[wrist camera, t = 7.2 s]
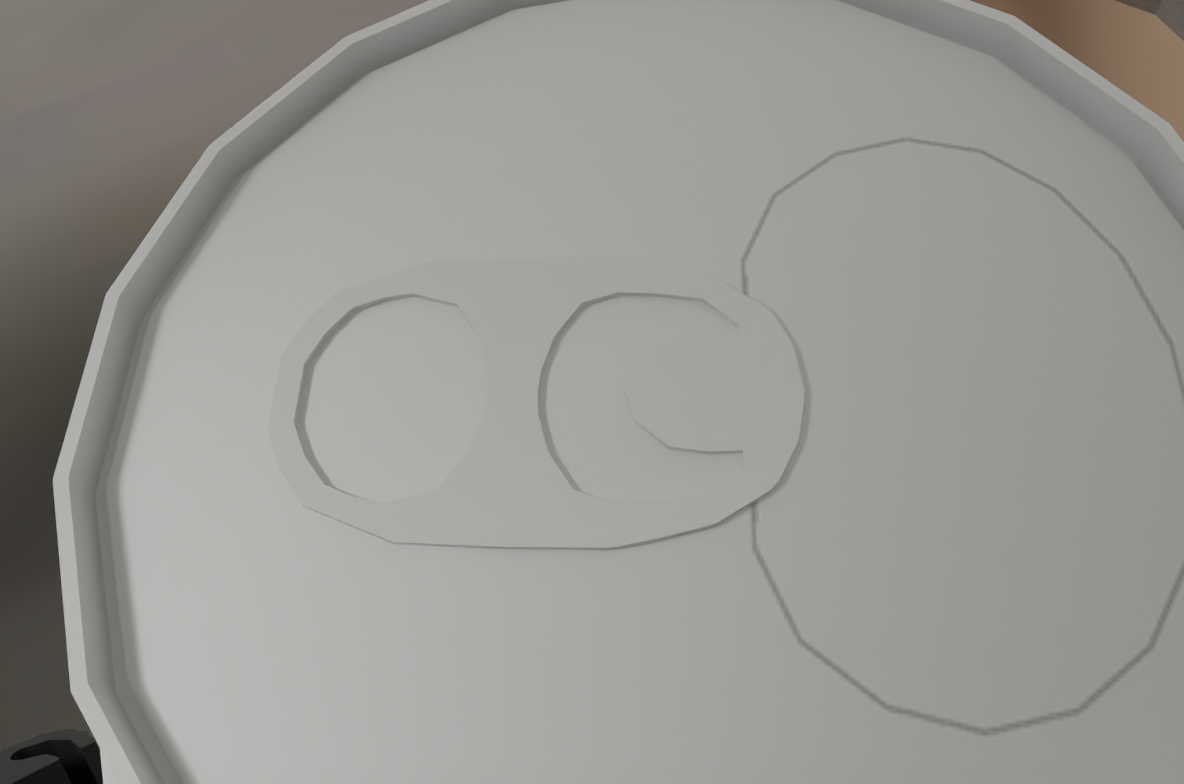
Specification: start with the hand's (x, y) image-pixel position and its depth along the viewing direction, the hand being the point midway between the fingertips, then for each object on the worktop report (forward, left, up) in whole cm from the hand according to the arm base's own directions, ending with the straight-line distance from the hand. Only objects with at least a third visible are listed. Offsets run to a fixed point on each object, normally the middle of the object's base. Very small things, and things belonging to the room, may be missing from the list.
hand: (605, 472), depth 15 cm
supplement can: (+1, -3, -6) cm, 7 cm away
